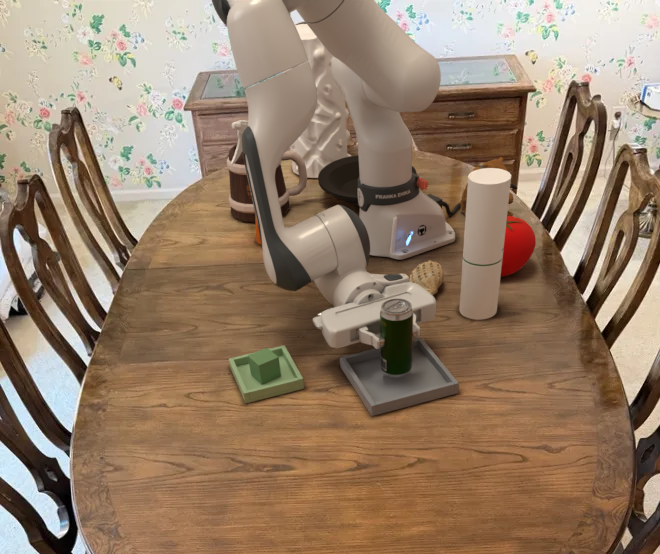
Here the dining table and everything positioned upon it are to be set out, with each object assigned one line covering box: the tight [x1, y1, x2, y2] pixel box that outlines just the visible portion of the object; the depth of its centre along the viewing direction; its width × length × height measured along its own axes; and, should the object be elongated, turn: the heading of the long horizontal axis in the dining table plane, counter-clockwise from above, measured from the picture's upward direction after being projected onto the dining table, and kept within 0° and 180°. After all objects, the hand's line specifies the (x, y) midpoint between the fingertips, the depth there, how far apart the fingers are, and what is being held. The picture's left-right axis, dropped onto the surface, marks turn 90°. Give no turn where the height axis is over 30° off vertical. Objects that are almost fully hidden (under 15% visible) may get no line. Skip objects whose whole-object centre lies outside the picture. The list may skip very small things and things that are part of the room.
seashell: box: [408, 259, 445, 297], centre depth 144 cm, size 8×6×10 cm
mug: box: [226, 143, 308, 224], centre depth 173 cm, size 20×15×15 cm
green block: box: [248, 347, 281, 384], centre depth 126 cm, size 4×4×4 cm
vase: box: [282, 23, 352, 179], centre depth 185 cm, size 17×16×32 cm
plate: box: [317, 154, 418, 207], centre depth 178 cm, size 28×24×6 cm
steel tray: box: [339, 336, 460, 417], centre depth 124 cm, size 16×16×2 cm
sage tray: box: [228, 344, 305, 404], centre depth 127 cm, size 11×12×2 cm
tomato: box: [500, 215, 537, 278], centre depth 146 cm, size 14×13×10 cm
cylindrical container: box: [458, 168, 512, 321], centre depth 130 cm, size 7×7×25 cm
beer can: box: [380, 298, 414, 378], centre depth 119 cm, size 5×5×12 cm
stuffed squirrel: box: [458, 157, 514, 217], centre depth 163 cm, size 10×14×13 cm
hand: (399, 338), depth 118 cm, fingers closed on beer can, 5 cm apart
